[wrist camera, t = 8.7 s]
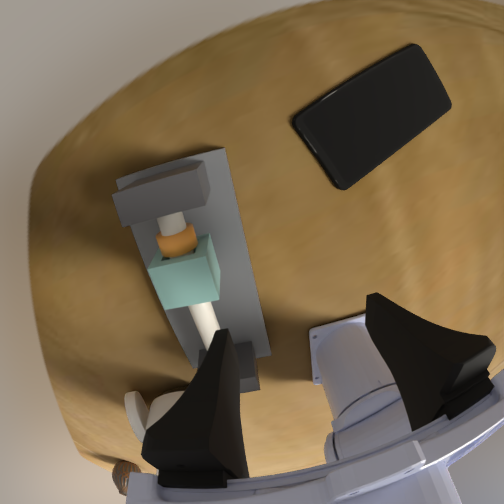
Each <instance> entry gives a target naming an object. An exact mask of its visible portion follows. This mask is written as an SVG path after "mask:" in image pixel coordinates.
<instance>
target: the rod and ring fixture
mask: <svg viewBox="0 0 504 504" xmlns="http://www.w3.org/2000/svg"><path fill="white" fill-rule="evenodd" d="M116 183H117V186H118V191H117V192H115V193H114V194H112V197H113V201H114V204H115V207H116V210H117V213H118V216H119V219H120V222H121V224H122V227H126V226H130V227H131V229H132V232H133V235H134V238H135V241H136V243H137V246H138V249H139V251H140V254H141V256H142V259H143V262H144V264H145V267H146V269H147V272H148V267H149V265H150V263H151V261H152V259H153V258H154V256H155V254H156V252H157V250H158V248H160V251H161V253H162V256H164V257H170V259H173V258H178V257H182V256H186V255H191V254H195V253H194V248H195V247H196V246H197V245H198V241H197V237H196V236H199V235H203V234H207V233H210V236H211V240H212V243H213V247H214V250H215V254H216V257H217V261H218V264H219V268H220V296H219V300H216V301H211V302H206V303H200V304H195V305H190V306H184V307H179V308H173V309H167V310H165V309H164V307H163V305H162V307H163V309H164V311H165V313H166V315H167V317H168V320H169V322H170V324H171V326H172V328H173V330H174V332H175V334H176V336H177V338H178V340H179V342H180V344H181V346H182V348H183V350H184V352H185V354H186V356H187V358H188V360H189V362H190V364H191V365H192V367H193V368H198V369H199V367H200V365H201V364H202V362H203V359H204V357H205V355H206V353H207V351H208V348H209V346H210V344H211V341H212V339H213V336H214V333H215V331H216V330H220V329H226V328H228V329H229V332H230V335H231V338H232V341H233V343H234V346H235V349H236V352H237V355H238V362H239V370H240V393H245V392H251V391H257V390H260V384H259V377H258V369H257V362H256V358H261V357H266V356H271V355H272V354H271V349H270V344H269V340H268V335H267V331H266V327H265V322H264V318H263V314H262V309H261V305H260V301H259V296H258V292H257V288H256V283H255V279H254V274H253V270H252V266H251V261H250V257H249V253H248V248H247V244H246V239H245V235H244V231H243V226H242V222H241V217H240V213H239V208H238V204H237V200H236V195H235V191H234V186H233V182H232V177H231V173H230V168H229V164H228V160H227V155H226V151H225V148H220V149H216V150H212V151H208V152H203V153H200V154H196V155H192V156H188V157H184V158H181V159H177V160H174V161H170V162H167V163H163V164H160V165H157V166H153V167H150V168H147V169H144V170H141V171H138V172H135V173H132V174H129V175H126V176H123V177H121V178H118V179H116ZM148 274H149V272H148ZM149 276H150V274H149ZM150 279H151V277H150ZM151 281H152V279H151ZM152 284H153V282H152ZM153 286H154V284H153ZM154 288H155V286H154ZM155 291H156V289H155ZM156 293H157V291H156ZM157 295H158V293H157ZM158 298H159V296H158ZM159 300H160V298H159ZM160 302H161V300H160ZM161 304H162V303H161ZM197 371H198V370H197Z"/></svg>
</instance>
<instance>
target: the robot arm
mask: <svg viewBox="0 0 504 504" xmlns="http://www.w3.org/2000/svg"><path fill="white" fill-rule="evenodd" d="M314 335H316V336H314ZM313 336H314V337H313ZM309 339H310V351H311V363H312V377H313V384H314V385H318V384H323V387H324V390H325V393H326V396H327V399H328V402H329V406H330V409H331V412H332V415H333V418H334V420H333V421H332V422H331V424H332V427H333V430H334V431H333V432H331V433H329V434H328V436H327V438H326V442H325V445H324V454H325V459H326V462H327V464H323V465H319V466H315V467H311V468H306V469H302V470H297V471H292V472H287V473H281V474H275V475H269V476H261V477H253V478H250V477H249V472H248V467H247V461H246V455H245V449H244V442H243V435H242V427H241V419H240V370H239V362H238V355H237V352H236V349H235V346H234V343H233V341H232V338H231V335H230V332H229V329H228V328H226V329H220V330H216V331H215V333H214V336H213V339H212V341H211V344H210V346H209V348H208V351H207V353H206V355H205V357H204V359H203V362H202V364H201V365H200V367H199V369H198V371H197V373H196V375H195V376H194V378H193V380H192V381H191V383H190V384H189V386H188V387H187V389H186V390H185V391H184V393H183V394H182V395H181V397H180V398H179V399H178V400H177V401H176V403H175V404H174V405H173V406H172V407H171V408H170V409H169V410H168V411H167V412H166V413H165V414H164V415H163V416H162V417H161V418H160V419H159V420H158V421H157V422H155V423H154V424H153V425H152V426H150V427H149V428H148V429H147V430H146V433H145V436H144V440H143V446H142V452H141V455H142V458H143V459H144V460H145V461H147V462H148V463H149V464H151V465H152V466H154V467H155V468H157V469H158V470H159V473H158V475H154V474H149V473H140V472H130V475H129V482H128V490H127V498H126V504H462V503H461V500H460V498H459V495H458V492H457V490H456V488H455V485H454V483H453V481H452V478H451V476H450V474H449V472H448V469H447V468H448V467H449V466H450V465H451V464H453V463H454V462H456V461H457V460H459V459H460V458H462V457H463V456H464V455H466V454H467V453H469V452H470V451H471V450H473V449H474V448H475V447H477V446H478V445H479V444H480V443H482V442H483V441H484V440H486V439H487V438H488V437H489V436H490V435H492V434H493V433H494V432H495V431H497V430H498V429H499V428H500V427H501V426H502V425H503V424H504V369H503V370H502V371H500V372H499V373H498V374H496V375H495V376H494V377H493V378H492V379H491V380H490V379H489V378H488V376H489V375H490V373H489V372H488V370H487V368H488V366H489V364H490V363H491V361H492V359H493V357H494V355H495V352H496V346H495V345H494V344H493V342H492V341H491V340H490V339H489V338H488V337H487V336H484V335H475V334H468V333H463V332H459V331H455V330H451V329H448V328H445V327H442V326H439V325H436V324H434V323H432V322H429V321H427V320H425V319H423V318H421V317H419V316H417V315H415V314H413V313H411V312H409V311H407V310H406V309H404V308H402V307H401V306H399V305H397V304H396V303H394V302H392V301H391V300H389V299H387V298H386V297H384V296H383V295H381V294H379V293H377V292H376V293H373V294H369V295H367V299H366V313H365V314H361V315H358V316H355V317H351V318H348V319H344V320H341V321H337V322H334V323H330V324H326V325H322V326H318V327H315V328H312V329H310V331H309Z"/></svg>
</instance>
